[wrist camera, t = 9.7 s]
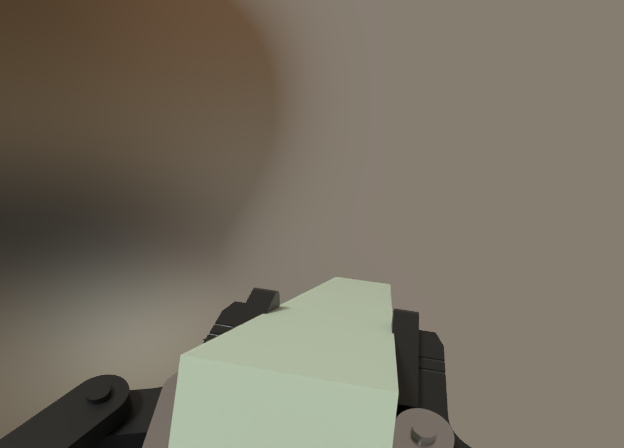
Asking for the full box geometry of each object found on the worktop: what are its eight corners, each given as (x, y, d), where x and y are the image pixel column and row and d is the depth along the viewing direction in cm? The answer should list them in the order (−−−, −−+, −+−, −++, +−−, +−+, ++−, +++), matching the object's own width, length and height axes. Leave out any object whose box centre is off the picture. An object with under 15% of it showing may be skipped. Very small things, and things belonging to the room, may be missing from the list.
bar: (370, 631, 7) (398, 392, 7) (150, 574, 8) (180, 354, 8) (383, 338, 31) (389, 284, 31) (329, 330, 31) (336, 277, 31)
